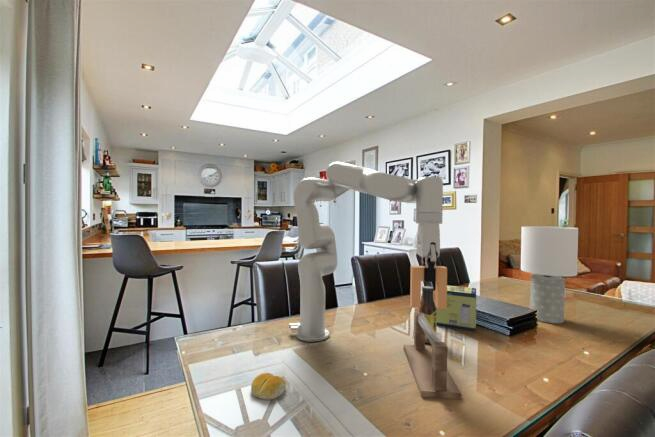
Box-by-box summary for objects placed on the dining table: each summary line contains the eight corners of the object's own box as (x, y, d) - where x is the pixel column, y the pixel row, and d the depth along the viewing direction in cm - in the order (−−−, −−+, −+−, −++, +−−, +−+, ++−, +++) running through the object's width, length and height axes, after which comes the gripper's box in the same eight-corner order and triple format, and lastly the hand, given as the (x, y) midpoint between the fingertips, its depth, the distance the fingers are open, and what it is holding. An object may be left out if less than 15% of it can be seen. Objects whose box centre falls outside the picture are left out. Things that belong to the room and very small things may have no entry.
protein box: (437, 318, 139) (438, 284, 138) (476, 324, 132) (476, 288, 132) (435, 325, 129) (435, 289, 129) (476, 332, 122) (476, 293, 122)
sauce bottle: (437, 345, 110) (438, 290, 110) (419, 343, 111) (420, 288, 111) (434, 337, 117) (435, 285, 116) (417, 336, 118) (418, 284, 117)
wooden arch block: (411, 307, 91) (412, 267, 91) (410, 304, 94) (410, 265, 94) (446, 308, 90) (447, 268, 90) (443, 305, 93) (444, 266, 93)
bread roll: (265, 379, 87) (266, 365, 87) (290, 389, 82) (290, 374, 82) (243, 393, 80) (243, 378, 80) (269, 405, 75) (269, 389, 75)
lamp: (539, 309, 152) (541, 226, 151) (587, 324, 133) (589, 228, 132) (509, 314, 145) (511, 226, 144) (554, 330, 125) (557, 228, 125)
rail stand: (421, 396, 79) (421, 346, 79) (403, 348, 107) (404, 311, 107) (461, 399, 78) (462, 348, 78) (432, 350, 106) (433, 312, 106)
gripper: (411, 218, 100) (410, 274, 100) (422, 219, 84) (421, 286, 84) (434, 218, 99) (434, 275, 100) (450, 219, 83) (449, 286, 83)
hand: (428, 279), depth 92 cm, fingers closed on wooden arch block, 3 cm apart
